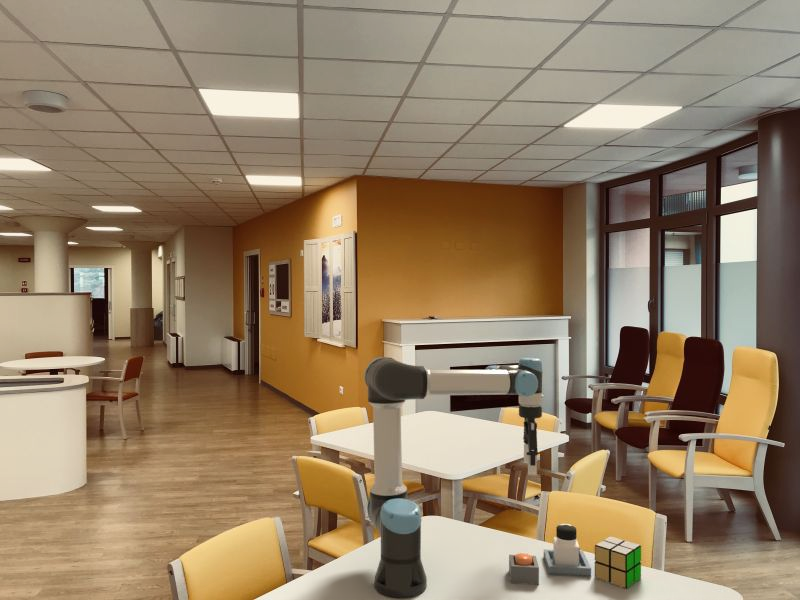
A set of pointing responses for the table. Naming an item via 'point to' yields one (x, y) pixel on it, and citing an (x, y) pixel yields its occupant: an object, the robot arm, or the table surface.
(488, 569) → the table surface
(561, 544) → the medicine bottle
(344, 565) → the table surface
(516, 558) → the button
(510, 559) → the button housing
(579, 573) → the tray
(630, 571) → the puzzle cube
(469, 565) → the table surface
